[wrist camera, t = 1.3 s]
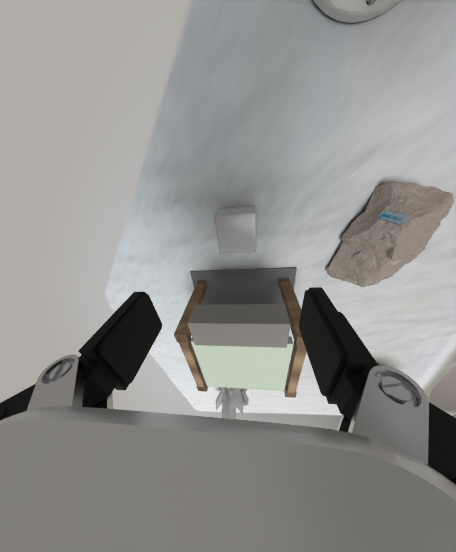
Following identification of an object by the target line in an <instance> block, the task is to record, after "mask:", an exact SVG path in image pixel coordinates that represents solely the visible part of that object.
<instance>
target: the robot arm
mask: <svg viewBox="0 0 456 552" xmlns="http://www.w3.org/2000/svg"><path fill="white" fill-rule="evenodd" d="M366 1H368V3H369V4H368V5H367V3H366ZM400 1H401V0H314V2H315V4H316V5H317V6H318V7H319V8H320V9H321V10H322V11H323V12H324V13H325V14H326V15H328V16H330V17H332V18H333V19H335V20H337V21H342V22H348V23H354V22H361V21H366V20H369V19H371V18H373V17H376V16H378V15H381V14H383V13H384V12H386V11H387V10H389V9H390V8H392V7H393V6H395V5H396V4H398V3H399V2H400ZM161 328H162V323H161V321H160V318H159V316H158V314H157V312H156V310H155V308H154V306H153V303H152V301H151V299H150V297H149V295H148V294H146V293H145V292H134V293H133V294H132V295H131V296H130V297H129V298H128V299H127V300H126V301H125V302H124V303H123V304H122V305H121V306H120V308H119V309H118V310H117V311H116V312H115V313H114V314H113V315H112V316H111V317H110V318H109V319H108V320H107V321H106V322H105V323H104V324H103V326H102V327H101V328H100V329H99V330H98V331H97V332H96V333H95V334H94V335H93V336H92V337H91V338H90V339H89V340H88V341H87V342H86V344H84V346H83V347H82V348H81V349H80V350H79V352H80V353H81V354H82V355H81V356H80V357H78V356H76V355H67V356H65V357H62V358H60V359H58V360H56V361H55V362H54V363H52V364H51V365H49V366H48V367H47V368H46V369H45V370H44V371H43V372H42V373H41V375H40V376H39V378H38V380H37V382H36V384H35V385H33V386H31V387H29V388H27V389H25V390H24V391H22V392H20V393H18V394H16V395H14V396H12V397H11V398H9V399H7V400H5V401H4V402H1V403H0V552H456V418H454V417H453V416H451V415H449V414H448V413H446V412H444V411H443V410H441V409H439V408H437V407H436V406H434V405H433V404H431V403H429V402H428V398H427V396H426V394H425V393H424V391H423V389H422V388H421V387H420V386H419V385H418V384H417V383H416V382H415V381H414V380H413V379H411V378H410V377H409V376H407V375H406V374H404V373H402V372H401V371H399V370H397V369H394V368H392V367H388V366H383V365H382V366H378V364H377V363H376V361H375V360H374V358H373V357H372V355H371V354H370V353H369V351H368V350H367V348H366V347H365V345H364V344H363V342H362V341H361V339H360V338H359V337H358V335H357V334H356V332H355V331H354V329H353V328H352V326H351V325H350V324H349V322H348V321H347V319H346V318H345V316H344V315H343V314H342V313H341V312H338V311H337V310H336V308H335V307H334V305H333V304H332V302H331V301H330V299H329V298H328V296H327V295H326V293H325V292H324V290H323V289H322V288H321V287H319V288H309V290H306V291H305V294H304V300H303V305H302V310H301V315H300V321H299V330H300V333H301V336H302V339H303V342H304V345H305V348H306V351H307V354H308V357H309V359H310V362H311V365H312V368H313V371H314V374H315V377H316V380H317V383H318V386H319V389H320V392H321V394H322V395H323V396H326V398H327V401H328V404H337V406H338V408H339V411H340V413H341V414H342V417H341V420H340V423H339V426H338V429H337V430H331V429H325V428H316V427H307V426H298V425H289V424H280V423H268V422H258V421H247V420H236V419H224V418H213V417H201V416H190V415H178V414H177V415H176V414H166V413H154V412H142V411H130V410H129V411H128V410H117V409H113V401H112V391H113V390H114V388H116V390H126V389H127V387H128V385H129V384H130V383H131V382H132V381H133V380H134V378H135V376H136V374H137V372H138V370H139V368H140V367H141V365H142V363H143V361H144V360H145V358H146V356H147V354H148V352H149V350H150V349H151V347H152V345H153V343H154V341H155V339H156V338H157V336H158V334H159V332H160V330H161Z"/></svg>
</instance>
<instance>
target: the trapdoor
mask: <svg viewBox="0 0 456 552" xmlns="http://www.w3.org/2000/svg"><path fill="white" fill-rule="evenodd" d="M187 324H188V326H189V329H190V332H191V335H192V340H191V343H192V346H193V349H194V352H195V354H196V357H197V360H198V363H199V365H200V368H201V371H202V374H203V377H204V379H205V382H206V385H207V386H212V387H228V388H244V389H260V390H276V391H284V390H285V385H286V379H287V374H288V369H289V363H290V358H291V352H292V347H293V342H292V338H291V337H289V330H290V321H289V317H288V314H287V310H286V307H285V304H219V305H194V308H193V310H192V313H191V315H190V318H189V321H188V323H187Z"/></svg>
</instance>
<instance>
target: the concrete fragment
mask: <svg viewBox="0 0 456 552" xmlns="http://www.w3.org/2000/svg"><path fill="white" fill-rule="evenodd" d="M453 202H454V199H453V194H452V193H449V192H445V191H441V190H440V189H438V188H435V187H423V186H419V185H418V184H416V183H403V182H394V181H392V182H387V183H385V184H381V185H378V186H377V187H376V188H375V190H374V192H373V194H372V196H371V199H370V200H369V203H368V206H367V207H366V210H365V212H364V213H362V214H361V215H359V216H358V217H357V218H356V219H355V221H354V222H352V223H351V225H350V227H349V228H348V230H347V231H346V232H345V233H344V234H343V236H342V238H341V240H343V241H342V244H341V246H340V248H339V250H338V252H337V253H336V255H335V257H334V258H333V260H332V262H331V264H330V266H329V267H327V268H326V271H327V273H328V274H329V275H330V276H331V277H334V278H337V279H341V280H344V281H348V282H351V283H353V284H356V285H359V286H361V287H364V286H369V285H374V284H378V283H379V282H380V281H381V280H383V279H387V278H389V277H391V276H392V275H393V274H394V273H396V272H397V271H398V270H399V269H400V268H401V267H402V266H404V265H405V264H406V263H409V262H411V261H412V260H413V259H415V258H416V257H417V256H418V254H420V253H421V252H422V251H423V250H424V249H425V246H426V245H427V243H428V241H429V240H430V238H431V237H432V235H433V233H434V232H435V231H436V229H437V228H438V227H439V226H440V221H441V220H442V219H443V218H444V217H446V216H447V214H448V213H449V210H450V208H451V206H452V205H453Z"/></svg>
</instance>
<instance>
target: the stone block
mask: <svg viewBox="0 0 456 552" xmlns="http://www.w3.org/2000/svg"><path fill="white" fill-rule="evenodd" d="M215 223H216V230H217V237H218V244H219V251H220V254H224V253H243V252H256V212H255V207H254V206H246V207H235V208H224V209H220V210H219V211H218V212H217V214H216V215H215Z"/></svg>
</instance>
